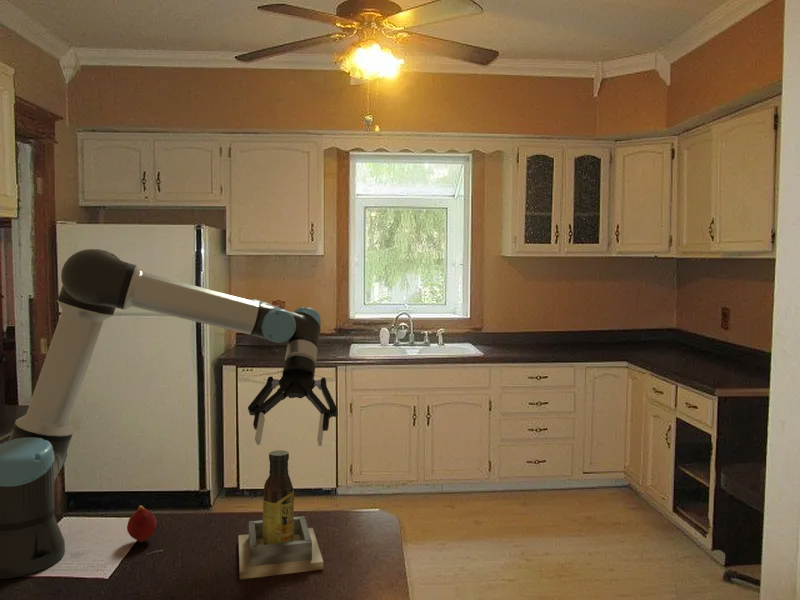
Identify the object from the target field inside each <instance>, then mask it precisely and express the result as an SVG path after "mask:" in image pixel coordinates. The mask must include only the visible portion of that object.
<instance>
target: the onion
mask: <svg viewBox="0 0 800 600" xmlns="http://www.w3.org/2000/svg"><path fill="white" fill-rule="evenodd" d="M157 524H158V523H157V518H156V516H155V514H154V513H153V512H152V511H150V510H148V509H146V508H145V507H144V506H143V505H138V507H137V510H136V511H135V512H134V513H133V514H132V515H131V516H130V517H129V519H128V521H127V526H126V529H127V530H126V531H127V533H128V534H129V536H130V537H131V538H132V539H134V540H136V541H137V542H138V543H144V542H145V541H146V540H148V539H150V538H151V537H152V536H153V535H154V533H155V531H156V529H157Z"/></svg>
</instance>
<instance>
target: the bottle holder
mask: <svg viewBox="0 0 800 600" xmlns="http://www.w3.org/2000/svg"><path fill="white" fill-rule="evenodd" d="M263 544H264V542H263V519H261V520H250V521H248V534H239V535H238V563H239V564H238V565H239V568H238V570H239V580H245V579H255V578H264V577H270V576H279V575H287V574H294V573H296V574H297V573H304V572H310V571H311V572H312V571H318V570H319V571H320V570H324V559H323V556H322V553H321V550H320V547H319V544H318V541H317V537H316V534H315V531H314V528H313V527H308V523H307V520H306V516H305V515H303V516H301V515H300V516H294V530H293V541H292V542H285V543H275V544H266V545H263Z"/></svg>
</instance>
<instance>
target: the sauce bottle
mask: <svg viewBox="0 0 800 600" xmlns="http://www.w3.org/2000/svg"><path fill="white" fill-rule="evenodd" d="M268 460H269V476H268V477H267V478H266V480H265V482H264V485H263V498H262V520H263V542H264V544H263V545H266V544H275V543H285V542H292V541H293V530H294V517H295V516H294V515H295V512H294V511H295V510H294V509H295V508H294V507H295V500H294V499H295V490H294V487H293V484H292V481H291V477H290V475H289V460H290V454H289V452H288V451H287V450H273V451H270V452H269V454H268Z"/></svg>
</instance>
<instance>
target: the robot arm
mask: <svg viewBox="0 0 800 600" xmlns="http://www.w3.org/2000/svg"><path fill="white" fill-rule="evenodd" d="M60 273H61V274H60V277H61V280H60V281H61V284H62V286H61V289H60V292H59V295H58V297H57V300H56V302H57V303H58V305H59V307H60V308H61V313H60V315H59V318H58V321H57V325H56V327H55V330H54V333H53V336H52V338H51V341H50V345H49V347H48V350H47V353H46V355H45V359H44V362H43V364H42V368H41V370H40V373H39V377H38V379H37V383H36V385H35V387H34V390H33V393H32V396H31V399H30V403H29V405H28V407H27V411H26V414H24V415H22V416H21V417H19V418H17V419H16V420H15V422H14V425H13V427H12V430H11V433H10V436H9V439H8V440H5V441H4V442H3V443H0V580H7V579H15V578H21V577H25V576H29V575H32V573H33V574H36V573H38V572H41V571H43V569H44V570H46V569H47V568H50V567H52V566H53V565H55V564H56V563H58V562H59V561H60V560H61V559H62V558H63V557H64V556H65V553H66V547H65V546H66V543H65V538H64V536H63V533H62V532H61V529H60V526H59V524H58V521H57V519H56V516H55V481H56V480H57V479H56V478H57V477H58V475H59V474H60V470H61V469H62V468H63V466H65V463H66V460H67V457H68V450H69V447H70V443H71V441H72V437H73V435H74V432H75V430H74V428H73V427H72V424H71V423H70V421H71V417H72V414H73V411H74V409H75V406H76V404H77V403H76V402H77V400H78V396H79V394H80V391H81V389H82V385H83V384H84V383H83V382H84V379H85V377H86V373H87V371H88V368H89V365H90V362H91V359H92V356H93V353H94V350H95V347H96V344H97V341H98V338H99V336H100V332H101V330H102V328H103V327H102V326H103V324H104V322H105V321H106V320H108V319H110V318H112V317H114V313H115V310H116V308H117V309H120V310H128V309H129V308H136V309H137V308H138V309H141V310H146V311H150V312H155V313H158V314H163V315H167V316H171V317H175V318H178V319H184V320H188V321H191V322H196V323H200V324H205V325H208V326H212V327H217V328H220V329H225V330H229V331H233V332H237V333H241V334H246V335H250V336H252V337H257V338H260V339H265V340H268V341H269V342H271V343H279V344H280V343H284V342H287V344H286V345H287V346H286V352H285V355H284V363H283V369H282V370H283V371H282V375H281V378H280V379H276V378H274V377H273V376H268V377H267V380H266V382H265V385H264V386H263V387H262V388H261V390H260V392H259V393H258V394H257V395H256V396H255V398H253V400H252V401H251V403H250V404H249V405H248V407H247V411H248V413H249V415H250V416H254V418H253V423H252V426H253V429H254V430H255V437H254V441H255V444H256V445H257V446H260V445H261V443H262V437H263V432H264V426H265V422H266V421H265V420H266V418H265V415H266V414H267V413H268V412H269V411H271V410H272V409H273V408H274V407H276V406H277V405H278V404H279V403H280V402H281V401H284V400H285V399H286V398H288V399H294V398H297V399H303V398H306V399H307V400H308V401H310V403H311V404H313V406H314V407H315V409H317V411H318V412H319V414H320V415H319V421H318V430H317V431H318V432H317V439H316V440H317V444H318V445H317V446H321V447H322V446H323V438H324V432H325V431H326V432H328V431H329V425H330V420H331V419H330V418H337V417H338V415H339V414H338V412H339V411H338V408H337V404H336V403H335V400H334V399H333V397H332V395H331V393H330V391H329V389H328V387H327V386H328V385H327V379H326V377H321V378H320V379H317V380H316V379H315V373H316V363H317V359H318V358H317V357H318V346H319V340H320V335H321V329H322V328H321V325H322V324H321V323H322V320H321V315H320V313H319V312H318V311H317V310H316V309H314V308H312V307H309V306H308V307H301V306H300V307H298V308H296V309H295V310H294V311H290V310H287V309H285V308H282V307H280V306H276V305H274V304H271V303H268V302H266V301H264V300H259V299H255V298H252V299H246V298H243V297H240V296H235V295H231V294H227V293H224V292H221V291H216V290H212V289H208V288H205V287H201V286H198V285H194V284H190V283H186V282H183V281H179V280H175V279H171V278H167V277H163V276H160V275H157V274H151V273H148V272H144V271H142V270H141V268H140V266H139V265H137V264H133V263H130V262H127V261H124V260H121V259H120V258H119V257H118V256H117V255H115V254H114V253H112V252H109V251H107V250H104V249H98V248H97V249H95V248H90V249H86V248H85V249H83V250H82V249H81V250H80V251H77V252H75V253H74V254H72V255H70V256H69V258H67V259H66V260H65V262H64V264H63V266H62V268H61V272H60ZM278 386H279V387H278ZM277 387H278V389H277V391H276V392H274V393H273V394H272V395H271V393H272V392H273V390H275V389H276V388H277ZM315 387H317V389H319V391H321V393H322V397H323V398H324V401H325V402H326V404H327V406H328V408H327V406H326V405H325V404H324V403H323V402H322V400H320V398H319V397H318V396H317V395H316V394H315V393H314V391H313V390H314V389H315ZM269 396H270V397H269ZM40 570H41V571H40ZM37 571H38V572H37ZM35 572H36V573H35ZM28 574H29V575H28Z"/></svg>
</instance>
